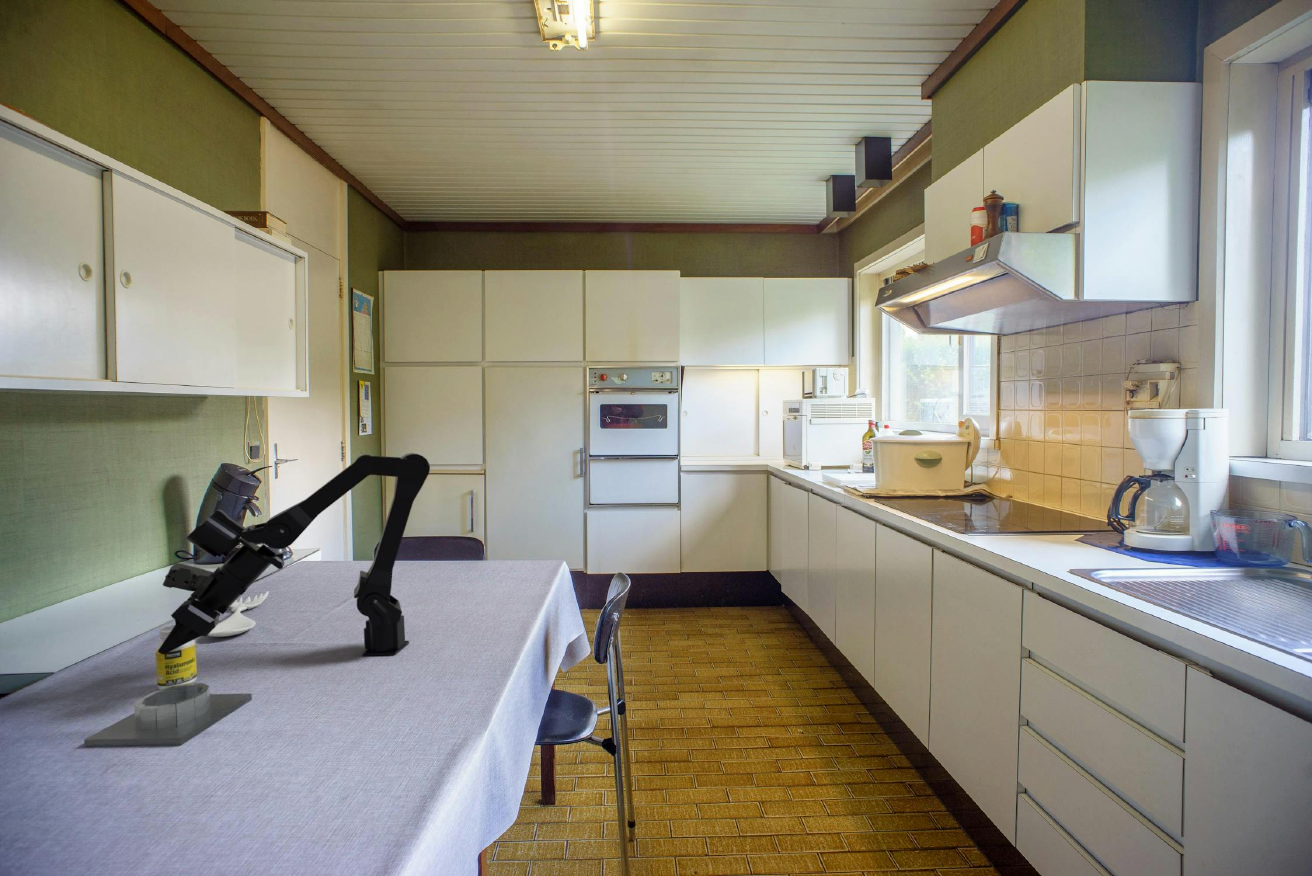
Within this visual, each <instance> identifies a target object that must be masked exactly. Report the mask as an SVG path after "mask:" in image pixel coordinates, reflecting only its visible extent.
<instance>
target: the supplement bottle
mask: <svg viewBox="0 0 1312 876" xmlns="http://www.w3.org/2000/svg"><path fill="white" fill-rule="evenodd" d="M174 626H175V624H174V625H169V626H166V627H163V628H161V629H160V630H159V639H160V640H161V641H160V642H159V643H157V644H156V645H155V662H156V663H155V664H156V682H157V683H156V684H157V688H158V689H159V690H161V689H165V688H168V687H171V686H177V685H182V684H187V683H188V684H189V683H195V681H197V680H198V679H197V678H198V669H197V668H198V667H197V652H196V651H197V650H196V648H197V647H196V646H197V645H196V639H194V640H192V641H190V642H188V643H186V644H184V645H182V646H180V647H178V648H176V649H174V650H172V651H170V652H168V653H166V654H164V655H163V654H161V653H159V652H158V650H159V648H160V647H161V645H162V644H163V642H164V641H165V640H166V638H167V637H168V635H169V634H170V632H171V631H172V629H173V628H174Z"/></svg>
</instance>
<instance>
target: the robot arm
mask: <svg viewBox="0 0 1312 876" xmlns="http://www.w3.org/2000/svg"><path fill="white" fill-rule="evenodd" d="M430 469H431V466H430V463H429V461H428V459H427V458H426V457H424V456H423V455H421V454H418V453H415V452H410V453H406V454H404V455H402V456H401V457H399V456H396V457H395V456H384V455H383V456H381V455H372V454H365V453H364V454H361V455H360V456H358V457H357V458H356V459H355V461H353V462H352V463H350V464H349V465H348V466H347V467H346V468H344V469H343V470H342V471H340V472H339V473H338V474H337V475H335V476H334V477H332V479H330V480H328V481H327V482H326V483H325V484H323V485H322V486H321V487H320V488H318V489H317V490H316V491H314V492H313V493H312V494H310V495H309V496H308V497H307V498H305V499H304V500H301V501H300V502H298V503H296V504H294V505H292V506H290V507H288V508H286V509H284V510H282V511H280V512H278V513H276V514H275V515H273V516H271V517H270V518H269V519H268V520H267V521H266V522H261V523H257V524H252V525H249V526H246V527H245V526H244V525H242V524H240V523H239V522H237V521H236V520H234V519H233V518H232V517H230V515H228V513H226V511H224V510H223V509H217V510H216V511H215V512H214V513H213V514H212V515H211V516H209V517H208V518H207V519H206V520H205V521H204V522H201V523H200V524H198V526H196V527H195V528H194V529H193V530H192V531H191V532H190V533H189V535H188V536H186V538H185V540H187V541H188V542H190V543H191V544H192V545H194V546H196V547H197V548H199V549H200V550H201V551H203V552H205V553H206V554H208V555H209V556H211V557H212V558H214V559H215V558H217V557H219V558H221V557H222V556H223V557H224V558H226V557H227V556H228V555H229V554H230V553H231V552H232V551H234V549H236V547H237V546H238V545H239V544H242V546H241V547H240V548H239V549H237V551H236V552H235V553H234V554H232V556H231V557H230V558H228V560H227V561H226V562H224V564H222V565H221V567H219V566H217V568H216V569H215V570H214V571H210V570H207V569H204V568H201V567H195V566H191V565H189V564H185V563H178V562H177V563H174V564H173V565H171V566H170V568H169V570H168V572H167V574H166V575H165V579H164V581H163V583H162V586H163V587H165V588H168V589H170V588H171V589H172V588H174V589H180V590H184V591H189V592H192V593H191V594H190V595H189V597H188V598H187V600H185V601H183V603H181V604H180V605H179V606H178V608H176V610H175V611H173V612H172V613H171V615H170V617H171V618H172V619H174V622H175V624H174V625H175V626H174V628H173V629H172V631H171V632H170V634H169V635H168V637H167V638H166V640H165V641H164V642H163V644H162V645H161V647H160V648H159V650H158V652H159V653H161V654H163V655H164V654H166V653H168V652H170V651H172V650H174V649H176V648H178V647H180V646H182V645H184V644H186V643H188V642H190V641H192V640H194V639H195V640H196V639H199V638H201V637H205V638H206V637H207V636H209V635H208V634H209V633H210V632H211V631H212V630H213V629H214V628H215V627H216V625H217V624H219V623H220V616H221V615H224V614H225V613H226V612H227V611H228V610H229V608H231V607H230V606H231V605H232V604H233V603H234V602H235V601H236V600H237V601H238V599H240V597H241V596H242V595H243V594H245V592H246V591H247V590H248V588H249V587H250V586H252V585H253V583H254V582H256V580H257V579H258V578H259V577H260V576H261V575H262V574H263V573H264V572H265V571H266V570H267V569H268V568H269V567H270V566H271V565H272V566H273V567H275V568H276V569H278V570H282V569H283V568H284V566H285V564H286V563H285V554H286V553H285V551H281V552H276V551H274V550H273V549H275V550H278V549H279V550H282V549H287V548H288V547H289V546H291V545H292V544H294V543H295V541H296V540H297V539H299V537H300V536H302V535H301V534H303V533H304V531H306V529H307V528H308V527H309V526H310V525H311V524H312V522H313V521H314V520H315V519H316V518H318V516H319V515H320V514H321V513H322V512H324V511H325V510H327V508H329V507H330V506H332V505H333V504H334V503H336V502H337V501H338V500H339V499H340V498H342V497H343V496H344V495H346V494H347V493H348V492H349V491H350V490H352V489H353V488H355V486H357V485H358V484H360V483H361V482H362V481H364V480H365V479H366V478H367V477H370V476H383V477H395V478H394V488H393V498H392V499H391V504H390V507H389V510H388V514H387V517H386V520H385V522H384V523H385V524H384V527H383V529H382V532H381V535H380V539H379V542H378V544H377V549H376V551H375V555H374V559H373V561H372V564H371V566H370V567H369V569H368V570H367V572H366V571H364V570H360V571H359V576H358V577H359V578H358V582H357V585H356V586H355V588H354V589H353V598H354V599H356V608H357V610H358V612H359V613H360V614H361V615H363V616H365V617H368V619H367V620H365V627H364V628H363V643H364V649H365V650H364V651H362V656H393V655H396V654H398V653H400V651H401V650H403V649H404V648H405V647H406V646H407V645H409V644H410V640H406V633H405V630H406V629H405V615H403V611H402V607H401V604H400V601H399V600H398V599H397V598H396V597H394V595H391V594H392V582H393V570H394V566H395V563H396V559H397V556H398V553H399V550H400V547H401V543H402V540H403V536H404V533H405V530H406V527H407V524H408V521H409V517H410V513H411V510H412V507H413V504H414V502H415V500H416V498H417V497H418V494H419V493H420V492H421V490H422V488H423V486H424V484H425V482H426V480H427V478H428V476H429V474H430ZM257 544H261V546H259V545H257Z"/></svg>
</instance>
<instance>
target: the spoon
mask: <svg viewBox="0 0 1312 876" xmlns="http://www.w3.org/2000/svg"><path fill="white" fill-rule="evenodd" d="M268 596H269V590H267V591H266V592H265V593H264V594H263V593H260V595H259V596H258V595H257V594H256V595H255V596H254V598H253V600H251V599H252V598H251V597H250V596H248V597H246V599H245V601H243V596H240V597H239V601H238V599H237V600H236V601H235V602H234V603H233V604H232V605H231V606H230V607H229V608H231V612H233V613H232V615H230V616H228V617H227V618H225V619H224V620H222V621H221V622H220V621H219V622H218V624H217V625H216V627H215V628H214V629H213V630H212V631H211V632H210V633H209V634H208V635H207V636H209V637H215V638H217V637H218V638H220V637H232V636H235V635H240V634H242V633H245V632H246V631H250V630H251V629H252V628H254V627H255V626H256V623H257V622H256V621H255V620H253V619H251V618H249V617H247V616H245V615H244V614H242V613H241V612H242V611H247V610H246V609H248V610H251V609H253V608H256V607H258V606H260V604H262V603H263V602H264V601H265V599H266V598H267V597H268Z"/></svg>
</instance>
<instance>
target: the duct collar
mask: <svg viewBox="0 0 1312 876" xmlns="http://www.w3.org/2000/svg"><path fill="white" fill-rule="evenodd" d="M252 697H253V695H252V693H211V694H210V686H209V685H208V684H206V683H204V682H192V683H189V684H188V683H187V684H182V685H177V686H171V687H168V688H165V689H159V690H155V691H152V692H150V693H148V694H147V695H144V696H143V697H141V698H139V699H137V701H136V702H135V703H134V705H133V706H134V712H133V713H132V714H130V715H128V716H126V717H124V718H122V719H120V720H119V721H117V722H115V723H112V724H111V725H109V726H107V727H106V728H104V729H102V730H100V731H98V732H96V733H94V734H92V735H91V736H89V737H87V738H85V739H84V743H83V744H84V747H86V748H89V747H148V746H149V747H153V746H154V747H155V746H157V747H159V746H161V747H162V746H163V747H164V746H165V747H166V746H182V745H183V744H185V743H187V742H188V741H190V740H192V739H193V738H195V737H197V736H198V735H199V734H202V732H204V731H205V730H207V729H208V728H210V727H212V726H213V725H215V724H216V723H218V722H219V721H221V720H223V719H224V718H226V717H227V716H228V715H231V714H232V713H233V712H235V711H236V710H238V709H240V708H241V707H243V706H244V705H245V704H247V703H248V702H251V701H252V700H253V699H252Z"/></svg>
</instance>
